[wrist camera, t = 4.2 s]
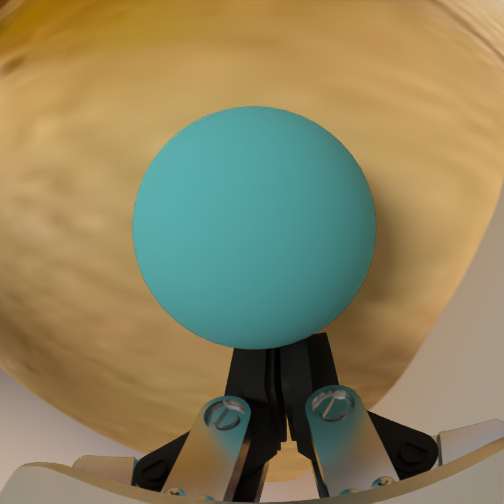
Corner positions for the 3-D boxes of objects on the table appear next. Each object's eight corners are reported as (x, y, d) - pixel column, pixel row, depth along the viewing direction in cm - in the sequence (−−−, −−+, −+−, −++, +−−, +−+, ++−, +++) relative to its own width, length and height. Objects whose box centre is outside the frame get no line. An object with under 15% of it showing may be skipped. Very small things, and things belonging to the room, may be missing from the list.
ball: (201, 325, 10) (126, 407, 4) (168, 174, 10) (70, 116, 4) (355, 293, 10) (441, 351, 4) (319, 138, 10) (361, 37, 4)
